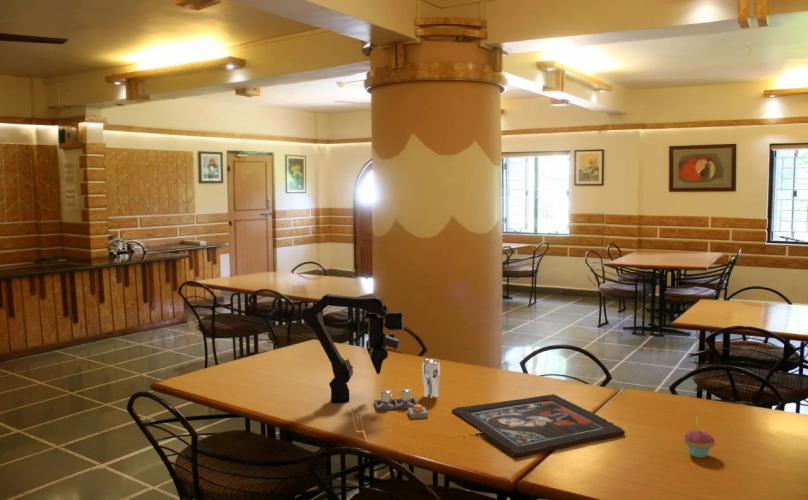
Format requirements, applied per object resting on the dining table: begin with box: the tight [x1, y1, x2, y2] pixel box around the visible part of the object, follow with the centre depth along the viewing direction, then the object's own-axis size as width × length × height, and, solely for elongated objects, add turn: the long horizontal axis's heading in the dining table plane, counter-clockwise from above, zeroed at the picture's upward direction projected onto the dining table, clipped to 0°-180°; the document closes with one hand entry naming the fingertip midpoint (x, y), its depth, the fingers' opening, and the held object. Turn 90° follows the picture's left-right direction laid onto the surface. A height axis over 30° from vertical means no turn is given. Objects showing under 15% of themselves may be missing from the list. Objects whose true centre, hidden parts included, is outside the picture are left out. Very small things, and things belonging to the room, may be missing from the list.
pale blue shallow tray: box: [354, 413, 364, 425], centre depth 222 cm, size 11×9×1 cm
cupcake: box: [683, 413, 716, 459], centre depth 191 cm, size 9×8×12 cm
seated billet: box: [400, 388, 412, 405], centre depth 233 cm, size 4×4×6 cm
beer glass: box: [421, 358, 441, 399], centre depth 244 cm, size 7×7×15 cm
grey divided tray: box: [373, 397, 419, 412], centre depth 233 cm, size 15×8×3 cm, turn 99°
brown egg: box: [413, 403, 423, 412], centre depth 223 cm, size 3×3×4 cm
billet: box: [380, 389, 393, 407], centre depth 232 cm, size 4×4×6 cm
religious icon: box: [451, 393, 626, 458], centre depth 217 cm, size 40×45×3 cm
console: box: [407, 406, 429, 420], centre depth 223 cm, size 6×6×3 cm
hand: (376, 370), depth 240 cm, fingers open, 9 cm apart
